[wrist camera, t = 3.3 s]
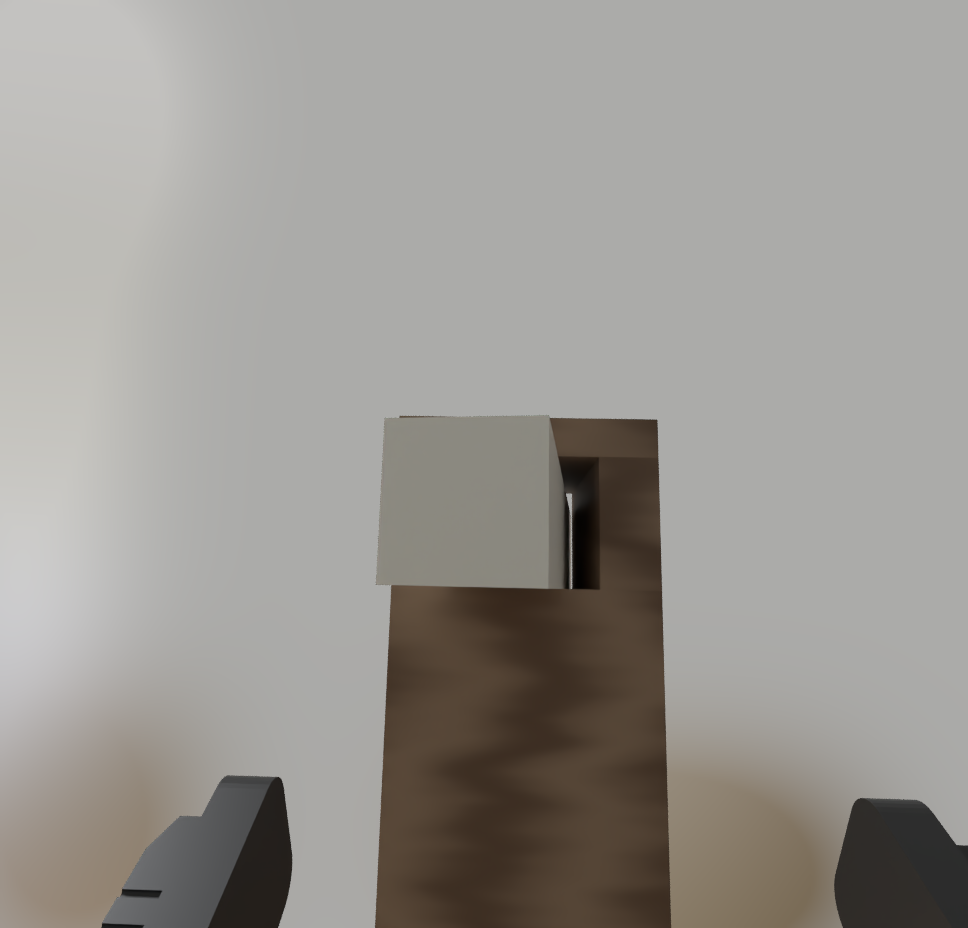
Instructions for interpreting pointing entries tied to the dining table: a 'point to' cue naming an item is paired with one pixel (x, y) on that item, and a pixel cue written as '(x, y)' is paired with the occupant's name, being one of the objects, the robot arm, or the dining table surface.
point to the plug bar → (473, 504)
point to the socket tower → (536, 723)
